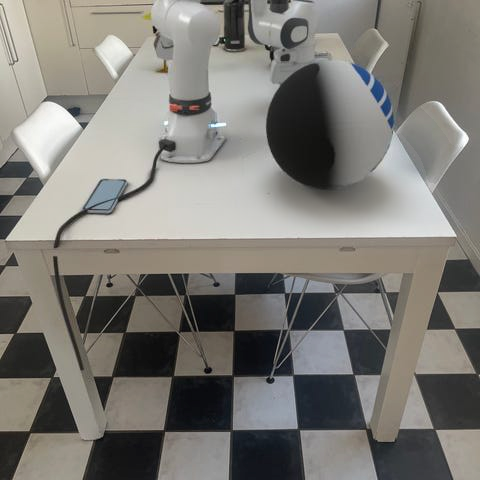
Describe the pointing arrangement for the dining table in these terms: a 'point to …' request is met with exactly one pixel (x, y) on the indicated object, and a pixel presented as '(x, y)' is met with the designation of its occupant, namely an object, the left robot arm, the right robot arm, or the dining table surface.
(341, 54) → the dining table surface
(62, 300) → the left robot arm
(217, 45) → the right robot arm
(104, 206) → the smartphone
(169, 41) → the toy
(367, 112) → the black and white ball
